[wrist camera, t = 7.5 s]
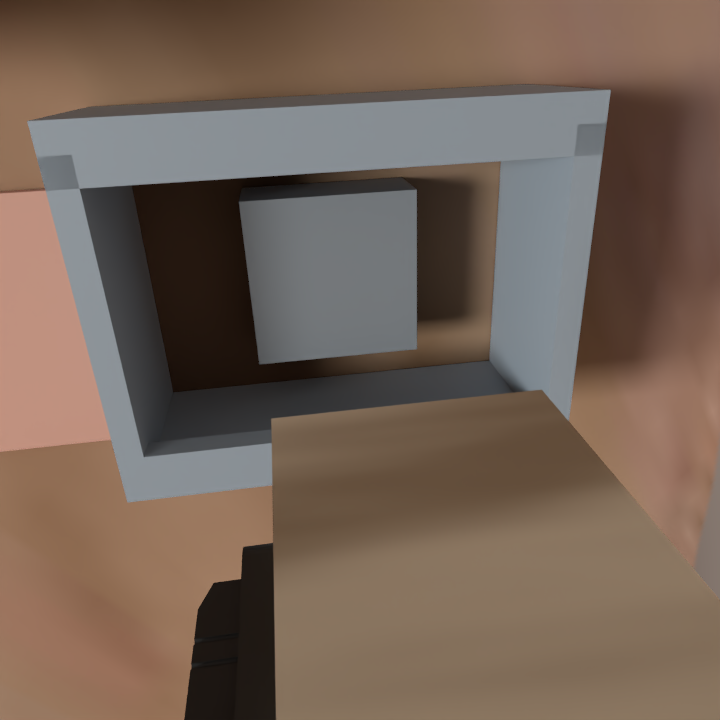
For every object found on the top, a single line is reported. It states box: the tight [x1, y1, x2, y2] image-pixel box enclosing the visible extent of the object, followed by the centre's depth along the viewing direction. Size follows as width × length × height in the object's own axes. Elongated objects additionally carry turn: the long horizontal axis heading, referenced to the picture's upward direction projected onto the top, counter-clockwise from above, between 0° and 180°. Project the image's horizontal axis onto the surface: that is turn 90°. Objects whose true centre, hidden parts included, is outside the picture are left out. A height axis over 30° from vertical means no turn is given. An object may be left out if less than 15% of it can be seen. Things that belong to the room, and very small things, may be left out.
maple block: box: [271, 390, 720, 720], centre depth 9 cm, size 5×5×7 cm
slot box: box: [27, 84, 611, 502], centre depth 25 cm, size 14×18×7 cm
